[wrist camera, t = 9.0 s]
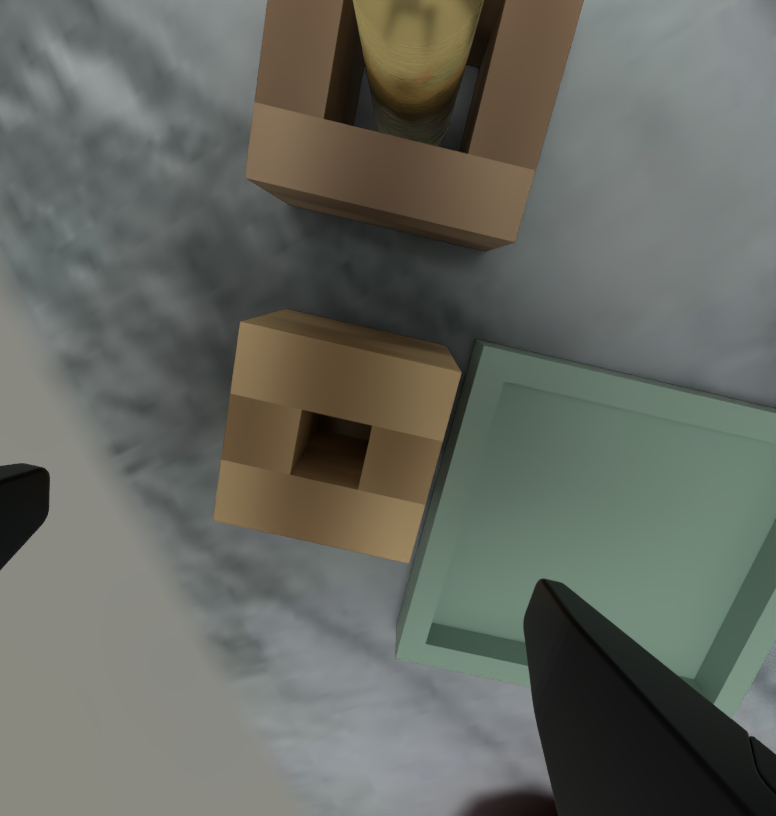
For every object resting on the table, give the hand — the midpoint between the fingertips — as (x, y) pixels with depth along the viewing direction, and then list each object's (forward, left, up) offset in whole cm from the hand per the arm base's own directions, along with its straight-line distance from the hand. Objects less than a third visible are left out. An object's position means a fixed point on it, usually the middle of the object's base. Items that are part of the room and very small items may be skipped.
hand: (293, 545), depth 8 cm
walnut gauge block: (0, -10, -10) cm, 14 cm away
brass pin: (0, -10, -10) cm, 14 cm away
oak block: (0, 0, -10) cm, 10 cm away
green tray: (-11, +3, -10) cm, 15 cm away
